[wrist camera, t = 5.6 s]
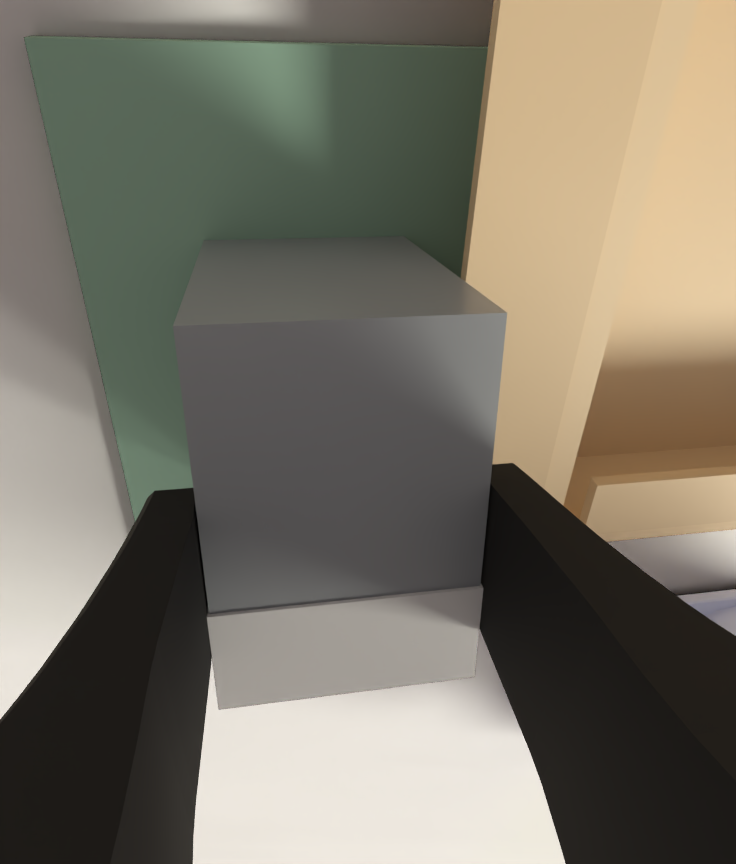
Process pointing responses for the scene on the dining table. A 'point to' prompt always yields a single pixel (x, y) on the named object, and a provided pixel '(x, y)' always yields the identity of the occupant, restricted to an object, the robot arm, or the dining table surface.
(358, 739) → the dining table surface
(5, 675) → the dining table surface
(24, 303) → the dining table surface
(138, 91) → the flat green panel
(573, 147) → the tan wooden shallow tray
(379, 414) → the grey box
